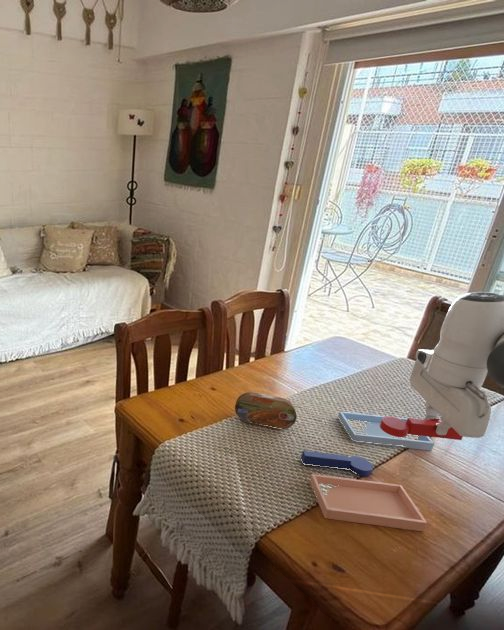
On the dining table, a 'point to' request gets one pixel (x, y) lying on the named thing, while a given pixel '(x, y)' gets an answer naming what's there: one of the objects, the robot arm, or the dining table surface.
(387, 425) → the red spoon
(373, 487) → the pink tray
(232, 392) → the dining table surface
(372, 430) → the blue tray
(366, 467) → the blue spoon
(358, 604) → the dining table surface
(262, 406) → the tin
